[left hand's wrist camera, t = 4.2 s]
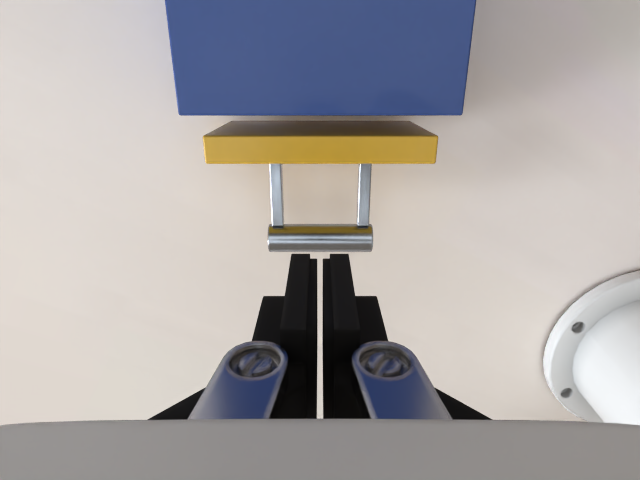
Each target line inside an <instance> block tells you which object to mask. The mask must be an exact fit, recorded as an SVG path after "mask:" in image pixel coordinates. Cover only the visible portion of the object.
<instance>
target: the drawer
mask: <svg viewBox="0 0 640 480" xmlns="http://www.w3.org/2000/svg"><path fill="white" fill-rule="evenodd" d="M203 144H204V154H205V162H206V163H207V164H269V169H270V191H271V213H272V224H269V227H268V249H269V251H270V252H371V251H372V247H373V228H372V225H371V224H369V210H370V188H371V166H372V164H434V163H435V162H436V154H437V144H438V136H437V135H435V134H433V133H431V132H429V131H427V130H425V129H423V128H422V127H420V126H418V125H416V124H414V123H412V122H410V121H231V122H229V123H227V124H225V125H223V126H221V127H219V128H217V129H216V130H214V131H212V132H210V133H208V134H206V135H204V136H203ZM282 164H359V170H358V199H357V224H284V205H283V175H282Z"/></svg>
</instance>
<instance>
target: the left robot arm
mask: <svg viewBox="0 0 640 480" xmlns="http://www.w3.org/2000/svg"><path fill="white" fill-rule="evenodd" d="M543 367H544V376H545V378H546V381H547V384H548V387H549V388H550V389H551V391H552V392H553V394H554V395H555V397H556V398H557V400H558V401H559V402H560V403H561V404H562V405H563V406H564V408H565V409H566V410H568V411H569V412H571V413H572V414H574V415H575V416H576V417H578V418H581V419H583V420H586V421H588V422H576V421H540V420H492V419H490V418H488V417H487V416H485V415H483V414H481V413H479V412H478V411H476V410H474V409H472V408H470V407H469V406H467V405H465V404H463V403H461V402H460V401H458V400H456V399H454V398H452V397H450V396H449V395H447V394H445V393H443V392H441V391H440V390H438V389H436V388H434V387H433V385H432V383H431V381H430V380H429V378H428V376H427V375H426V373H425V371H424V369H423V368H422V366H421V364H420V362H419V361H418V359H417V357H416V356H415V355H414V354H413V352H412V351H410V350H409V349H408V348H406V347H405V346H402V345H400V344H397V343H394V342H389V341H388V339H387V335H386V331H385V327H384V323H383V319H382V315H381V311H380V307H379V303H378V300H377V297H376V296H355V292H354V286H353V280H352V273H351V267H350V261H349V255H348V254H330V259H323V419H317V259H310V254H292V255H291V261H290V267H289V273H288V280H287V286H286V292H285V296H264V297H263V300H262V303H261V307H260V311H259V315H258V319H257V323H256V327H255V331H254V335H253V339H252V341H251V342H246V343H243V344H240V345H238V346H235V347H234V348H232V349H231V350H230V351H228V352H227V354H226V355H225V356H224V357H223V359H222V361H221V362H220V364H219V366H218V368H217V369H216V371H215V373H214V375H213V376H212V378H211V380H210V381H209V383H208V385H207V387H206V388H204V389H202V390H200V391H199V392H197V393H195V394H193V395H191V396H189V397H188V398H186V399H184V400H182V401H180V402H179V403H177V404H175V405H173V406H171V407H170V408H168V409H166V410H164V411H162V412H161V413H159V414H157V415H155V416H153V417H152V418H150V419H148V420H106V421H64V422H36V423H18V424H8V425H0V480H640V270H639V271H635V272H631V273H628V274H624V275H620V276H618V277H615V278H613V279H611V280H608V281H606V282H604V283H602V284H600V285H598V286H597V287H595V288H593V289H592V290H590V291H589V292H587V293H585V294H584V295H583V296H582V297H581V298H579V299H578V300H577V301H576V302H575V303H573V304H572V305H571V306H570V307H569V308H568V309H567V311H566V312H565V313H564V314H563V315H562V316H561V317H560V319H559V320H558V322H557V323H556V325H555V327H554V328H553V330H552V331H551V333H550V336H549V338H548V341H547V344H546V346H545V351H544V358H543Z"/></svg>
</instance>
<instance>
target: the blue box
mask: <svg viewBox="0 0 640 480" xmlns="http://www.w3.org/2000/svg"><path fill="white" fill-rule="evenodd" d="M165 5H166V13H167V21H168V30H169V38H170V46H171V55H172V63H173V71H174V80H175V88H176V96H177V105H178V113H179V115H462V113H463V105H464V97H465V89H466V80H467V72H468V64H469V56H470V47H471V39H472V31H473V22H474V14H475V6H476V0H165Z"/></svg>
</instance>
